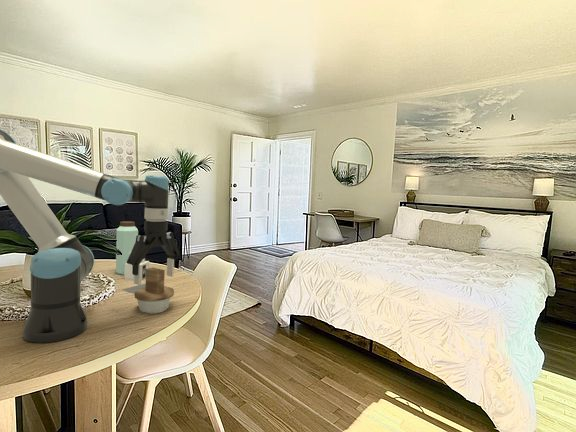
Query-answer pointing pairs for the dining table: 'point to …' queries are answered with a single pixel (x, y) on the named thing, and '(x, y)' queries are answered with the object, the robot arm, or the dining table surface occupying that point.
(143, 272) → the container
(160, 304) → the ramekin
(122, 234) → the water bottle
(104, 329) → the dining table surface
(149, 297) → the lid
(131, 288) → the mat
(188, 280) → the dining table surface
